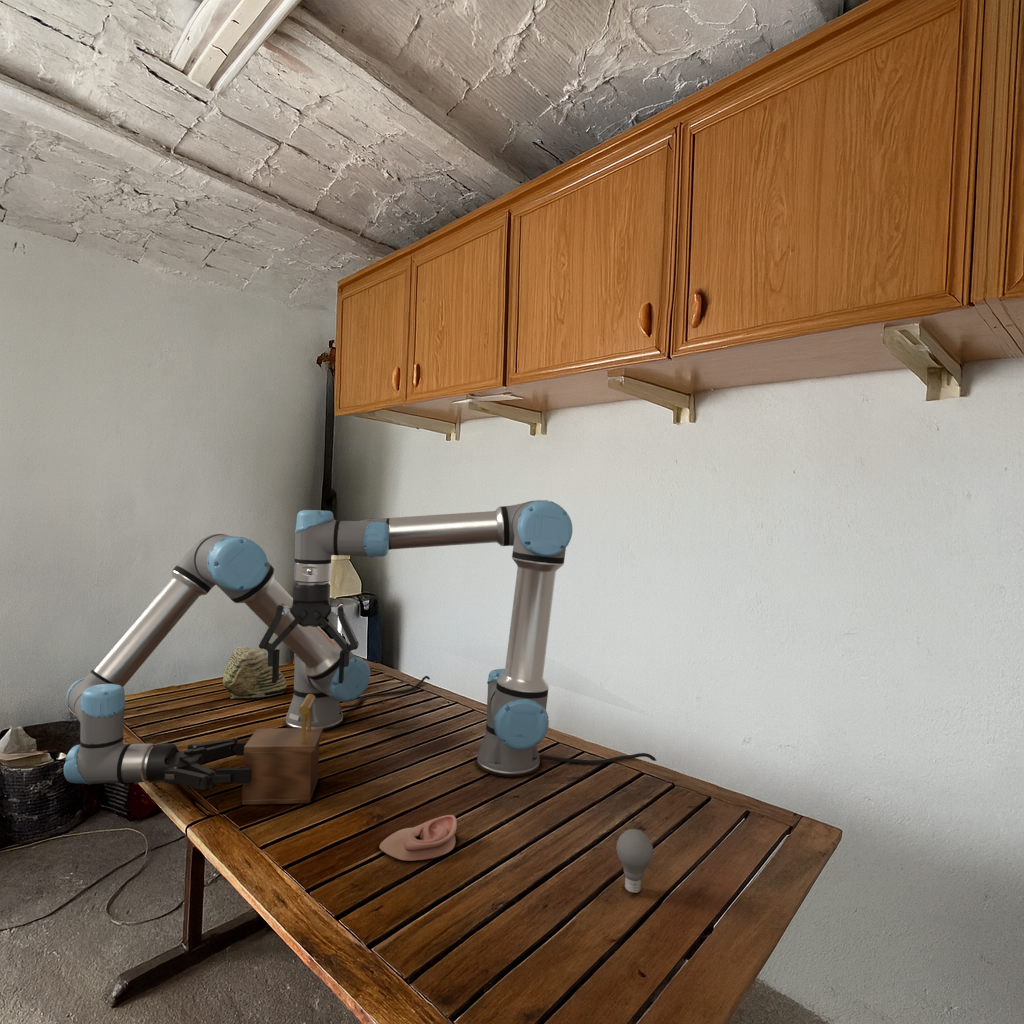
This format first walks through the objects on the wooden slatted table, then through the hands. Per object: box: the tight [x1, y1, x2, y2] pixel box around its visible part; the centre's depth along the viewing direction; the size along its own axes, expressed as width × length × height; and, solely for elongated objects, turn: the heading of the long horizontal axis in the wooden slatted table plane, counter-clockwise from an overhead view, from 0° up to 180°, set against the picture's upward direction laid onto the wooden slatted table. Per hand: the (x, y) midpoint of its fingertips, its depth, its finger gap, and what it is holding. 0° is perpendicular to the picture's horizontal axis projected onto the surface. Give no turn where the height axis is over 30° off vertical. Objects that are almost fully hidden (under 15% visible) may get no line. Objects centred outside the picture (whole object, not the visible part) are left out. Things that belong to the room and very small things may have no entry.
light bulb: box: [615, 828, 654, 894], centre depth 106 cm, size 6×6×10 cm
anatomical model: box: [379, 814, 458, 862], centre depth 117 cm, size 13×4×12 cm
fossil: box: [222, 646, 288, 699], centre depth 198 cm, size 9×18×15 cm, turn 132°
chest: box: [241, 741, 320, 806], centre depth 135 cm, size 13×10×11 cm
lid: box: [244, 694, 324, 752], centre depth 135 cm, size 14×10×9 cm
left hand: (259, 761), depth 134 cm, fingers open, 13 cm apart
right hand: (308, 681), depth 135 cm, fingers open, 13 cm apart
